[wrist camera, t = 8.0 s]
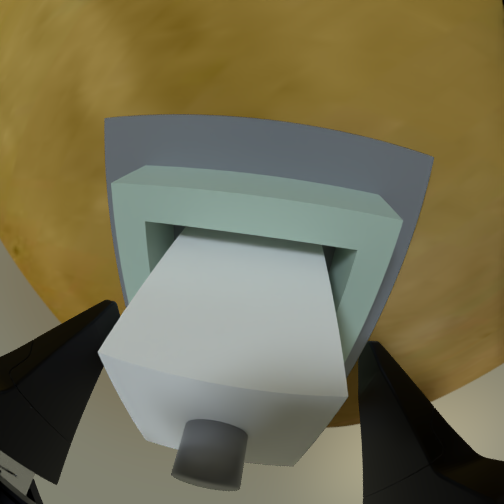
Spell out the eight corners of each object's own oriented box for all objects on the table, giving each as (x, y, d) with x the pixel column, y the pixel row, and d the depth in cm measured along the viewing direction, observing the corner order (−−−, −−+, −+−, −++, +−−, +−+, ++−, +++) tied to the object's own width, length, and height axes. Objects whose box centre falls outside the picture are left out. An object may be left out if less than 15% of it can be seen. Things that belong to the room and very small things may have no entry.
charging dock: (427, 154, 9) (469, 173, 6) (345, 371, 15) (350, 413, 13) (112, 117, 10) (64, 126, 7) (139, 339, 16) (120, 376, 13)
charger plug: (319, 234, 11) (354, 466, 3) (296, 327, 13) (290, 504, 6) (192, 218, 11) (64, 407, 3) (194, 312, 13) (133, 474, 6)
